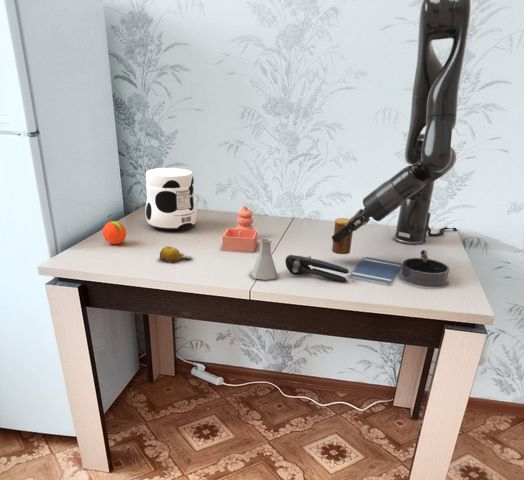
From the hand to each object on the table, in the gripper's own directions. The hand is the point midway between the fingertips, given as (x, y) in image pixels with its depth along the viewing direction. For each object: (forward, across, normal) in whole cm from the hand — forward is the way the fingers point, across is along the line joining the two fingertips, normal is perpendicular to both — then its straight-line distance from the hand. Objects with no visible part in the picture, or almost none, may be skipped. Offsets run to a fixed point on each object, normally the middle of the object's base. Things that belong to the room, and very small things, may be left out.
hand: (336, 237), depth 144 cm
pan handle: (-13, -8, +21) cm, 26 cm away
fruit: (+35, +18, -24) cm, 47 cm away
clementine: (+51, +16, -40) cm, 67 cm away
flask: (+16, +19, -5) cm, 25 cm away
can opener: (+7, +14, +5) cm, 16 cm away
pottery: (+28, -5, -17) cm, 33 cm away
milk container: (+48, -9, -37) cm, 61 cm away
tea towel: (-4, 0, +15) cm, 15 cm away
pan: (-13, +1, +24) cm, 27 cm away
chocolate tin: (+2, 0, +4) cm, 4 cm away
